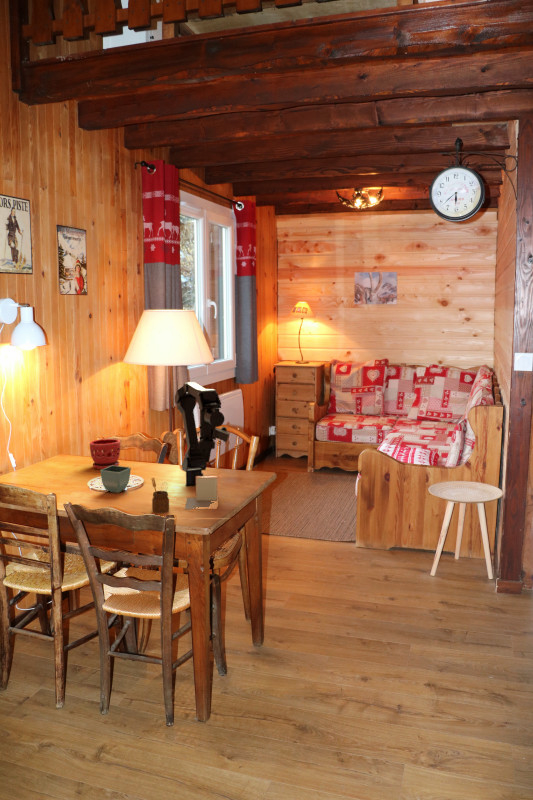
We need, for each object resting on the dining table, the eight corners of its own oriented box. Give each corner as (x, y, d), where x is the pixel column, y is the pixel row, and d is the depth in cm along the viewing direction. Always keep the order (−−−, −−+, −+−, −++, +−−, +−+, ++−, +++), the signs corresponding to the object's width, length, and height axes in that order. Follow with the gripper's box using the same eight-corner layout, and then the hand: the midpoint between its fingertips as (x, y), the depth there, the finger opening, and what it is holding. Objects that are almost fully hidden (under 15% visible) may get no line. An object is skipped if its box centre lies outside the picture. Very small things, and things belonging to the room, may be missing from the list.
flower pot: (131, 489, 265) (131, 467, 263) (120, 495, 257) (119, 472, 255) (112, 486, 268) (112, 465, 266) (100, 492, 259) (99, 470, 258)
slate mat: (184, 510, 239) (184, 509, 239) (187, 498, 253) (187, 497, 253) (218, 510, 239) (218, 509, 239) (218, 498, 253) (218, 497, 253)
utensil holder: (163, 515, 233) (162, 482, 232) (148, 512, 236) (147, 479, 234) (172, 510, 239) (172, 478, 237) (157, 508, 241) (157, 475, 240)
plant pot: (125, 464, 303) (124, 438, 301) (112, 471, 290) (111, 445, 288) (99, 462, 306) (98, 437, 304) (85, 469, 293) (84, 443, 291)
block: (195, 501, 249) (195, 477, 247) (196, 499, 251) (196, 476, 249) (217, 500, 249) (217, 477, 248) (217, 499, 251) (217, 476, 250)
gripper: (228, 426, 245) (228, 468, 247) (228, 417, 263) (228, 456, 266) (197, 426, 244) (198, 468, 247) (200, 417, 263) (200, 456, 265)
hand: (207, 462), depth 256 cm, fingers closed
